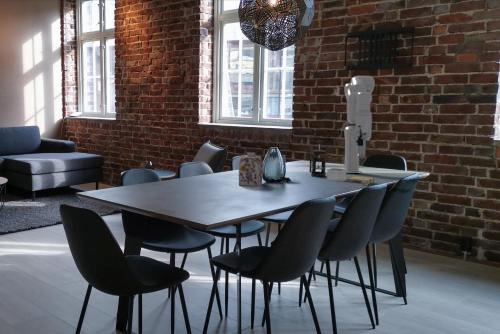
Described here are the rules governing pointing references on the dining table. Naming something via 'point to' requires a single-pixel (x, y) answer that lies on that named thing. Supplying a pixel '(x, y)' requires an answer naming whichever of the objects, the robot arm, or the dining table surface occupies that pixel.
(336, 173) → the stand base
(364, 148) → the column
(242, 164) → the decorative jar
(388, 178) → the dining table surface
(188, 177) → the dining table surface
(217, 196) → the dining table surface
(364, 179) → the tan flat square block
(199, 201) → the dining table surface
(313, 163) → the black lantern
